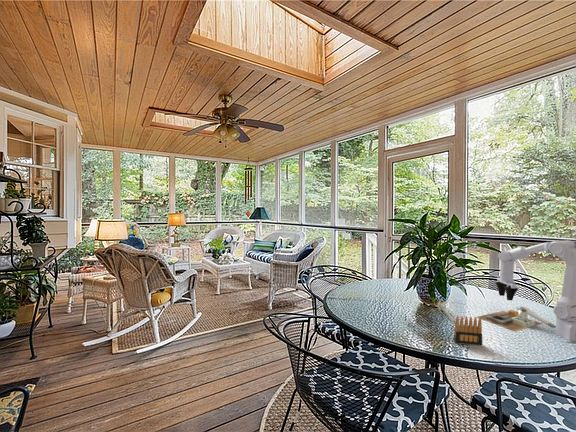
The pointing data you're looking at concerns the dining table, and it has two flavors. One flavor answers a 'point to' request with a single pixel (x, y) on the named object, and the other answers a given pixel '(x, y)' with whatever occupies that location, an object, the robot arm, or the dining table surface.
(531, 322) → the tray
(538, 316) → the adjustable wrench
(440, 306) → the caliper
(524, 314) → the peg
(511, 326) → the holder
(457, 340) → the ammunition clip
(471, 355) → the dining table surface
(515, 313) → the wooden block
